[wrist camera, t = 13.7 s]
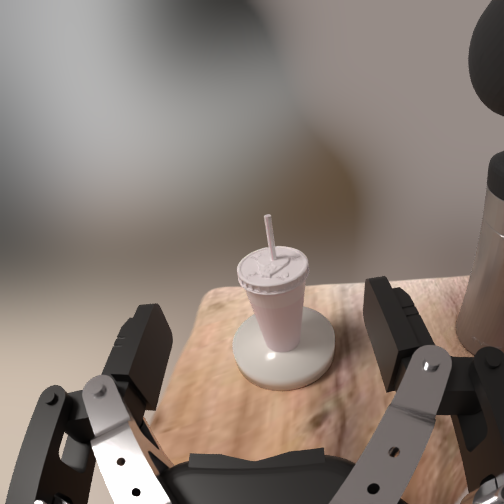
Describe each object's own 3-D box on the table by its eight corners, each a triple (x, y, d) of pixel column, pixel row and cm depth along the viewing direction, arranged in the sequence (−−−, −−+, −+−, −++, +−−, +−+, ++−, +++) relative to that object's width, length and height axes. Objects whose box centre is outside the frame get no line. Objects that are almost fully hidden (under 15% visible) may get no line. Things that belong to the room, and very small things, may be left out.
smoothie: (317, 321, 33) (310, 202, 27) (306, 366, 28) (297, 238, 21) (262, 316, 36) (241, 204, 29) (244, 358, 31) (213, 237, 24)
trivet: (281, 305, 40) (279, 293, 39) (353, 340, 32) (354, 328, 31) (216, 356, 34) (212, 344, 33) (288, 409, 26) (287, 399, 25)
